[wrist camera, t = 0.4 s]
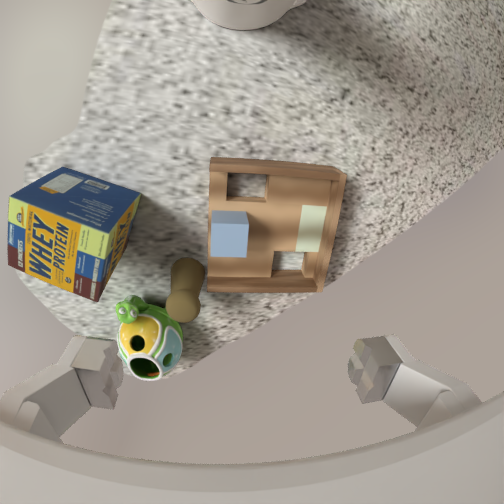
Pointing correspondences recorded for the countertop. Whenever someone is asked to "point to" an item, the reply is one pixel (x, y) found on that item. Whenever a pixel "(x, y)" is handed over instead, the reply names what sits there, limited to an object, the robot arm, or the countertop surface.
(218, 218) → the slate block
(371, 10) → the countertop surface
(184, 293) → the cork
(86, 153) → the countertop surface
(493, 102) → the countertop surface
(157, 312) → the turtle holder
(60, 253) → the protein box
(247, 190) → the countertop surface
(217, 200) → the tray
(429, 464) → the robot arm
